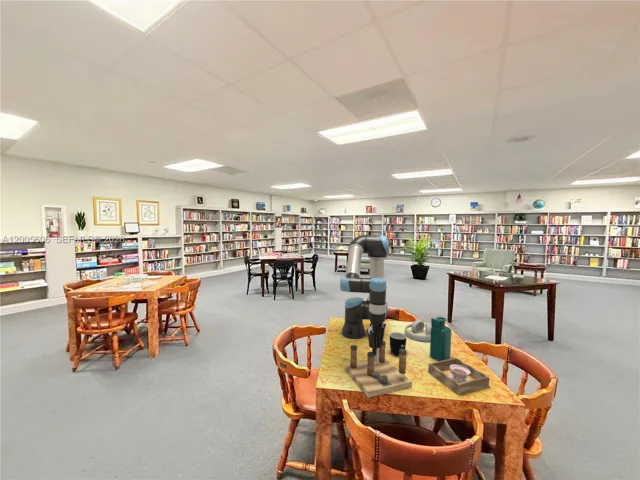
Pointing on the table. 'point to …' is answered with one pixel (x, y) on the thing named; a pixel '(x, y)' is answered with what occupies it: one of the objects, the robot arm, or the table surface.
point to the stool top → (382, 367)
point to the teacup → (459, 373)
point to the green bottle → (440, 339)
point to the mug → (397, 342)
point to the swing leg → (371, 368)
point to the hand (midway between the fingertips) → (375, 360)
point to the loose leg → (402, 361)
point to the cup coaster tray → (458, 388)
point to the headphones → (418, 327)
